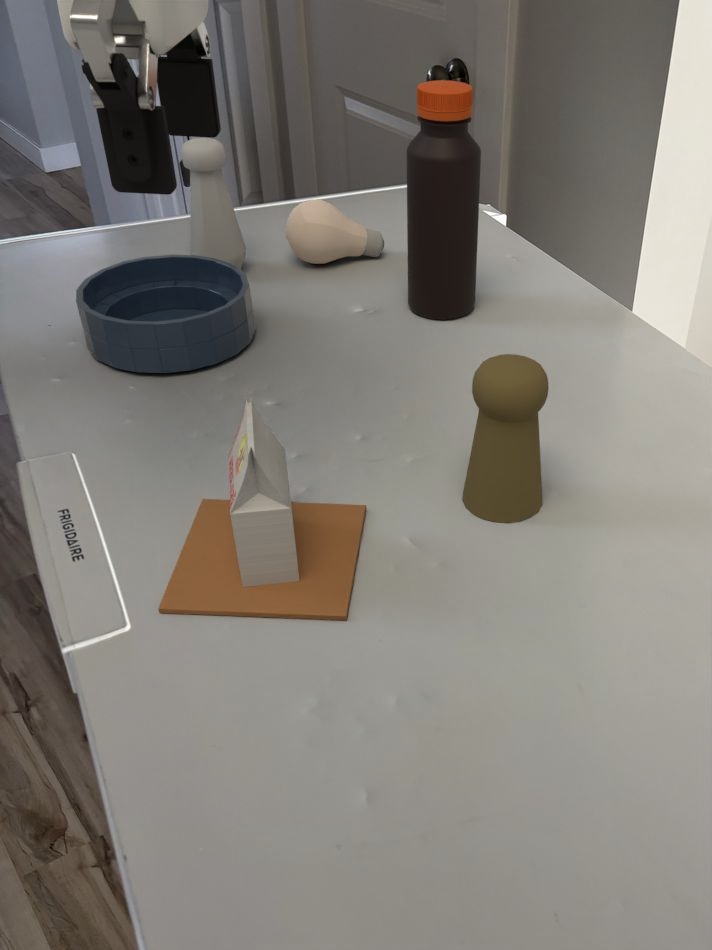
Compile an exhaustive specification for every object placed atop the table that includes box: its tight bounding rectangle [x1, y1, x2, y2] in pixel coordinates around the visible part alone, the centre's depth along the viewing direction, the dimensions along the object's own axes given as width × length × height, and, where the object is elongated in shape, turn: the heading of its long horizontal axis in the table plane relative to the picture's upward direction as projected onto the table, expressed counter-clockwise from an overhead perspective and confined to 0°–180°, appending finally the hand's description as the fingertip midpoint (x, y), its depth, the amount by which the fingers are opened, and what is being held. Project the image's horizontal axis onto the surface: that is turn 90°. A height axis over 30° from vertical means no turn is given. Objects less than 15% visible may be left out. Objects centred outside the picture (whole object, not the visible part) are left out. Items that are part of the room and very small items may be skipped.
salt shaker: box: [181, 137, 247, 271], centre depth 95 cm, size 6×6×13 cm
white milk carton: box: [228, 397, 299, 587], centre depth 60 cm, size 4×7×10 cm, turn 11°
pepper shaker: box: [461, 353, 549, 524], centre depth 66 cm, size 6×6×11 cm
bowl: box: [75, 254, 256, 374], centre depth 86 cm, size 15×15×5 cm
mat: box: [158, 498, 367, 621], centre depth 63 cm, size 12×12×1 cm
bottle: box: [406, 79, 482, 321], centre depth 87 cm, size 7×7×20 cm
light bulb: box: [285, 199, 385, 265], centre depth 101 cm, size 7×7×11 cm
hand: (171, 161), depth 51 cm, fingers open, 9 cm apart
